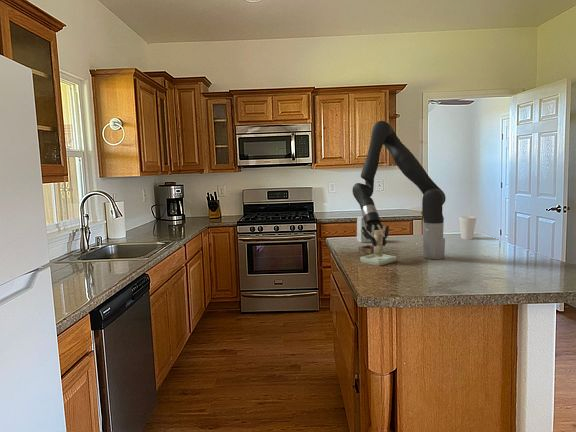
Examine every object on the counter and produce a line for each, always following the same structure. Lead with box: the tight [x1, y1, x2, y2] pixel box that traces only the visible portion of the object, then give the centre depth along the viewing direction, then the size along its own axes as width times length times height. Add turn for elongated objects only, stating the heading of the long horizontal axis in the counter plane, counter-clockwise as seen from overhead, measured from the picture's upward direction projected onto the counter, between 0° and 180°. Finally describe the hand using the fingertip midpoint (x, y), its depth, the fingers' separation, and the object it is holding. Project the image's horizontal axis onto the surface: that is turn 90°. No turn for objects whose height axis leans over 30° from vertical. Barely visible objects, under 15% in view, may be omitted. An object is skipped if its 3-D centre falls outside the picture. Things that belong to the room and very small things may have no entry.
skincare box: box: [356, 216, 372, 243], centre depth 240 cm, size 8×6×15 cm
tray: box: [359, 253, 398, 267], centre depth 191 cm, size 11×13×2 cm
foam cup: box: [458, 215, 477, 240], centre depth 244 cm, size 10×9×13 cm
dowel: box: [373, 229, 384, 257], centre depth 190 cm, size 4×4×12 cm
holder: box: [358, 244, 374, 256], centre depth 207 cm, size 8×8×4 cm
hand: (380, 245), depth 188 cm, fingers closed on dowel, 4 cm apart
